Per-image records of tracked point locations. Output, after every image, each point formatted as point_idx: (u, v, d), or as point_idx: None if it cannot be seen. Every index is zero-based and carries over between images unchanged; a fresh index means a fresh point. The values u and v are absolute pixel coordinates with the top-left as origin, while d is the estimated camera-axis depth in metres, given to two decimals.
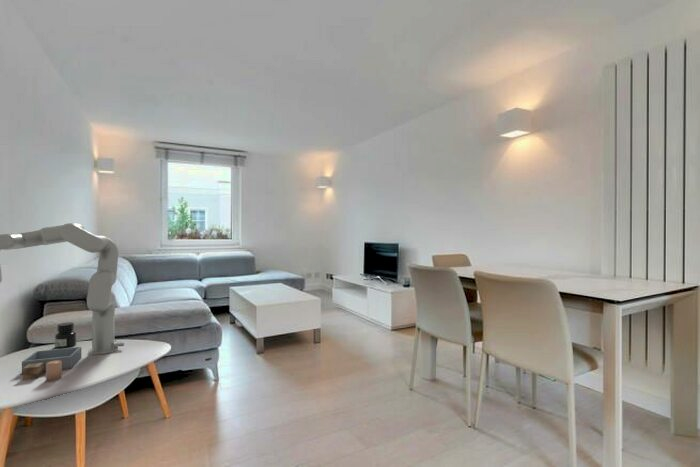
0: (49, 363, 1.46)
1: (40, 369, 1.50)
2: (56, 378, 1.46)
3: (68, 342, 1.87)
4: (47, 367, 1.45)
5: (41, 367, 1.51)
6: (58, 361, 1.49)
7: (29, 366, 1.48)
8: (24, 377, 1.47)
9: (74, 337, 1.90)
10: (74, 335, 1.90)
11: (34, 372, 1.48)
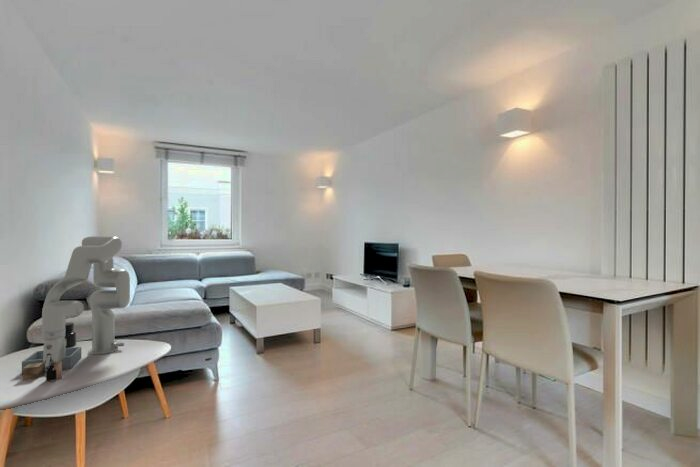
0: None
1: (40, 369, 1.50)
2: (56, 378, 1.46)
3: (68, 342, 1.87)
4: None
5: (41, 367, 1.51)
6: None
7: (29, 366, 1.48)
8: (24, 377, 1.47)
9: (74, 337, 1.90)
10: (74, 335, 1.90)
11: (34, 372, 1.48)
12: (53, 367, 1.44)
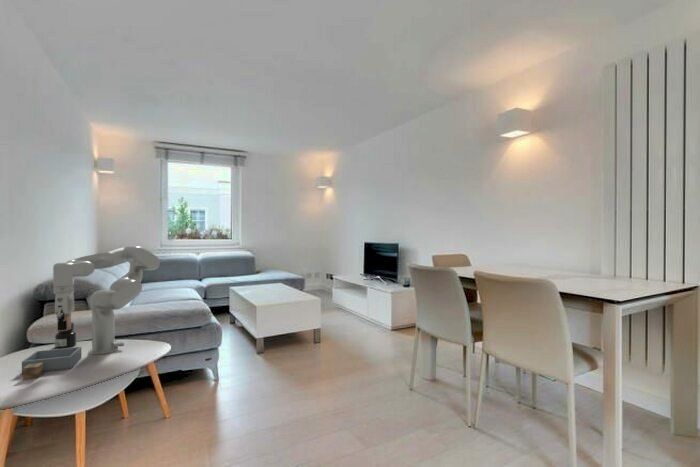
0: None
1: (40, 369, 1.50)
2: None
3: (68, 342, 1.87)
4: None
5: (41, 367, 1.51)
6: (68, 314, 1.65)
7: (29, 366, 1.48)
8: (24, 377, 1.47)
9: (74, 337, 1.90)
10: (74, 335, 1.90)
11: (34, 372, 1.48)
12: (64, 318, 1.60)
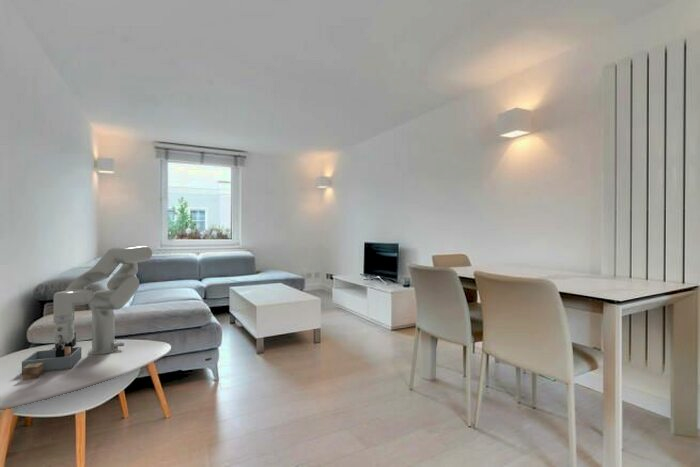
0: None
1: (40, 369, 1.50)
2: None
3: None
4: None
5: (41, 367, 1.51)
6: (68, 347, 1.65)
7: (29, 366, 1.49)
8: (24, 377, 1.47)
9: (74, 337, 1.90)
10: (74, 335, 1.90)
11: (34, 372, 1.48)
12: (62, 346, 1.59)
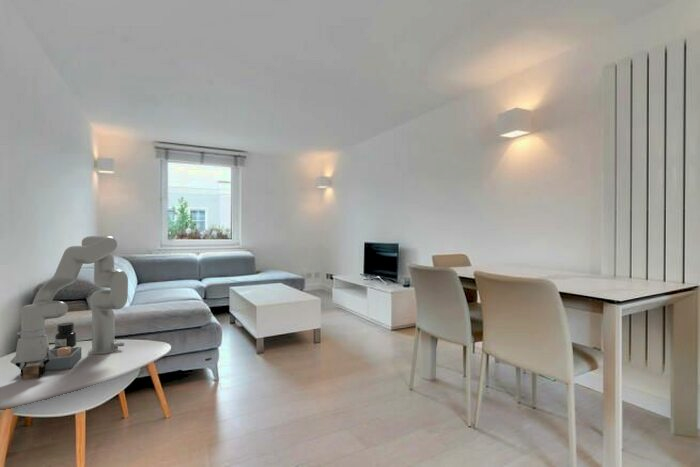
0: (60, 349, 1.62)
1: None
2: None
3: (68, 342, 1.87)
4: (58, 352, 1.61)
5: None
6: (68, 347, 1.65)
7: (29, 366, 1.48)
8: (24, 377, 1.47)
9: (74, 337, 1.90)
10: (74, 335, 1.90)
11: (34, 372, 1.48)
12: (20, 365, 1.47)
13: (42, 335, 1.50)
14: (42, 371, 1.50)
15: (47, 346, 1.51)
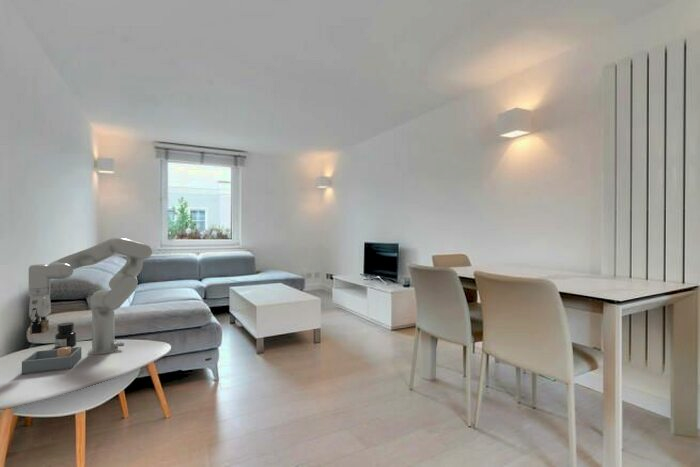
0: (60, 349, 1.62)
1: None
2: None
3: (68, 342, 1.87)
4: (58, 352, 1.61)
5: None
6: (68, 347, 1.65)
7: (41, 321, 1.59)
8: (44, 330, 1.59)
9: (74, 337, 1.90)
10: (74, 335, 1.90)
11: (47, 324, 1.62)
12: (38, 321, 1.57)
13: None
14: None
15: None
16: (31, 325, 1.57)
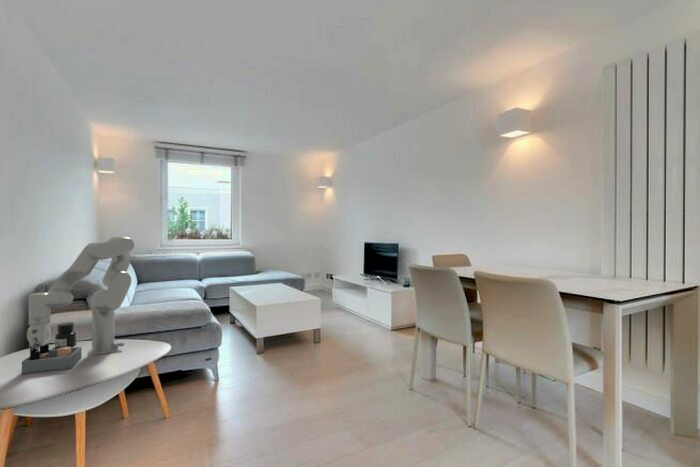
0: (60, 349, 1.62)
1: None
2: None
3: (68, 342, 1.87)
4: (58, 352, 1.61)
5: None
6: (68, 347, 1.65)
7: (41, 355, 1.59)
8: None
9: (74, 337, 1.90)
10: (74, 335, 1.90)
11: None
12: (37, 349, 1.55)
13: None
14: None
15: None
16: None
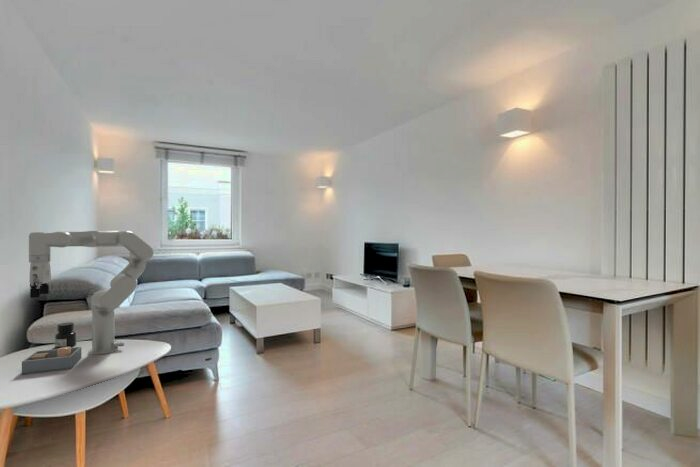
0: (60, 349, 1.62)
1: None
2: None
3: (68, 342, 1.87)
4: (58, 352, 1.61)
5: None
6: (68, 347, 1.65)
7: (41, 355, 1.59)
8: None
9: (74, 337, 1.90)
10: (74, 335, 1.90)
11: None
12: (37, 285, 1.58)
13: None
14: None
15: None
16: None
